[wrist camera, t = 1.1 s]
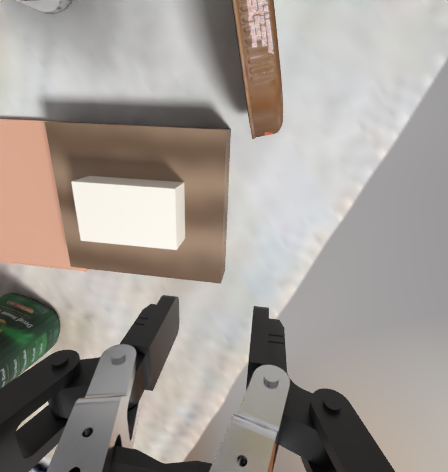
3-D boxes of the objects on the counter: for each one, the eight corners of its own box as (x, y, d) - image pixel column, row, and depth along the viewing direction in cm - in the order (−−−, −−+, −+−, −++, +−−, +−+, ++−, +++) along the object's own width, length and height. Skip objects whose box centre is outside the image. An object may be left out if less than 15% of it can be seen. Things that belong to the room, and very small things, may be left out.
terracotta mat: (-46, 116, 33) (-50, 116, 33) (64, 121, 31) (61, 121, 31) (-5, 259, 40) (-8, 260, 40) (87, 269, 38) (85, 271, 38)
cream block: (89, 175, 30) (71, 181, 27) (184, 182, 29) (175, 188, 26) (96, 230, 32) (80, 240, 30) (185, 238, 31) (176, 250, 28)
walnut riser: (64, 121, 31) (44, 121, 29) (230, 128, 29) (226, 130, 26) (85, 255, 37) (70, 266, 35) (224, 270, 35) (220, 283, 32)
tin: (224, -52, 24) (202, -133, 16) (262, -65, 24) (258, -155, 16) (251, 137, 29) (244, 143, 22) (283, 131, 29) (287, 135, 21)
